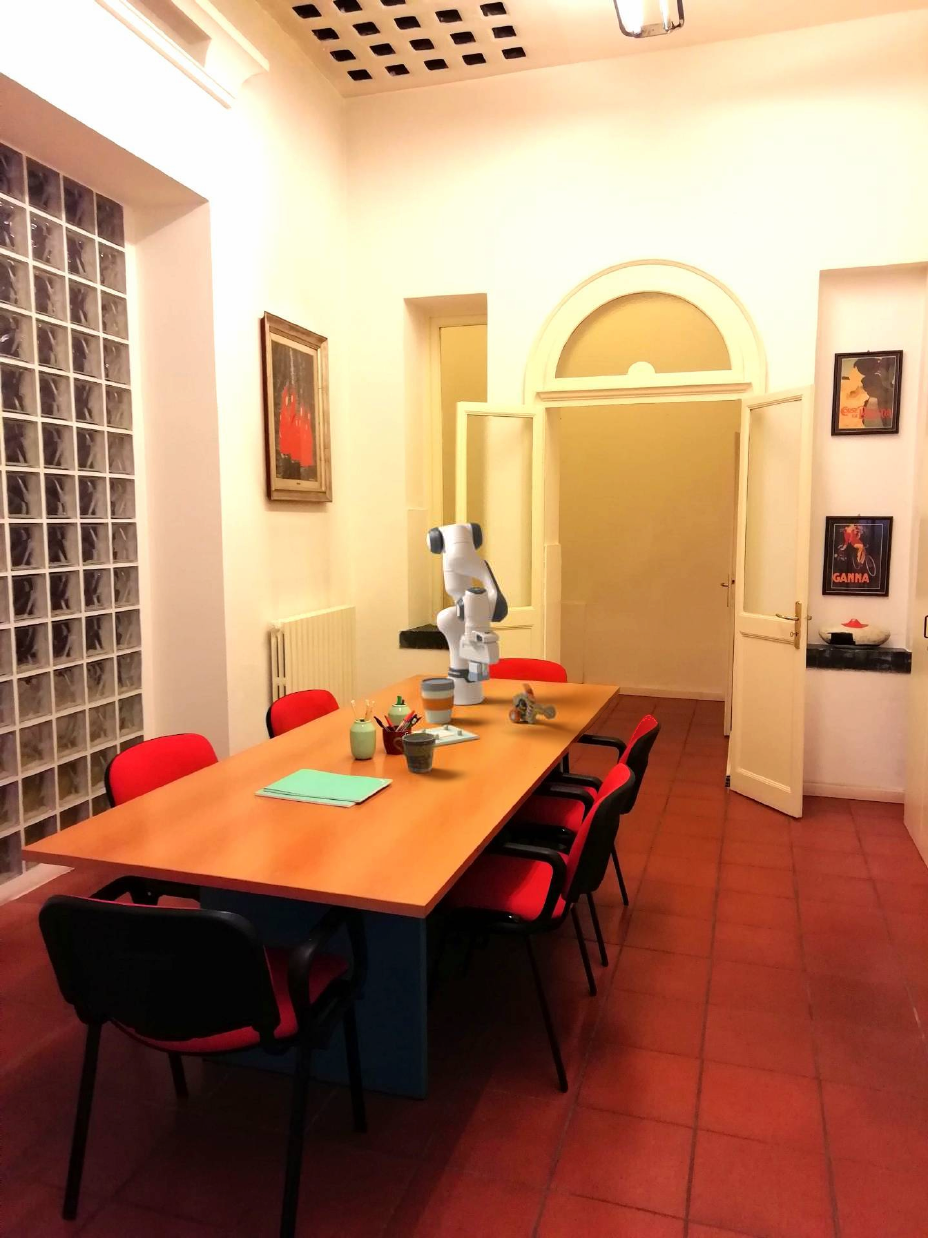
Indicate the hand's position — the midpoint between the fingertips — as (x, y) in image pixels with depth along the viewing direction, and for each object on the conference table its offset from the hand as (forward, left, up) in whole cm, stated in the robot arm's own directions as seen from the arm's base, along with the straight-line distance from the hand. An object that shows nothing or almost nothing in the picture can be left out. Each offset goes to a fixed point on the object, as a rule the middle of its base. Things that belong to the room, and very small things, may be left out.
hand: (479, 673), depth 305 cm
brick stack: (0, 0, -2) cm, 2 cm away
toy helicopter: (+5, +19, -20) cm, 28 cm away
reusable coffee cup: (-19, -6, -20) cm, 28 cm away
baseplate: (+2, -17, -20) cm, 26 cm away
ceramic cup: (+30, -42, -20) cm, 55 cm away
